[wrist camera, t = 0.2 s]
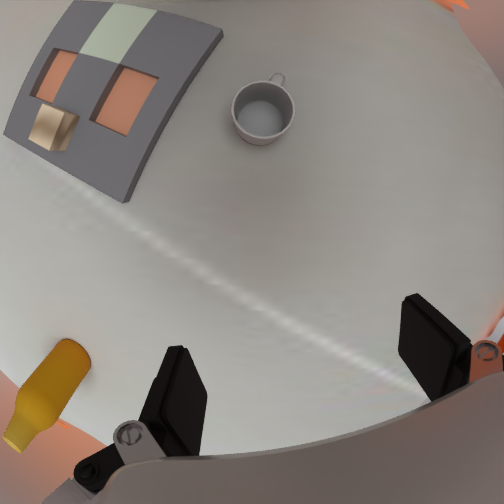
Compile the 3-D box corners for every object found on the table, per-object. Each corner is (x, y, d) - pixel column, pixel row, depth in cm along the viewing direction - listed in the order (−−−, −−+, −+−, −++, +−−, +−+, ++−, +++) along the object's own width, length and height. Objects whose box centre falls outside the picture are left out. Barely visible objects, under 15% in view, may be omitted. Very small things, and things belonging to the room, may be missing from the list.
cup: (226, 134, 37) (221, 125, 28) (253, 76, 34) (255, 53, 25) (273, 153, 37) (280, 148, 29) (299, 95, 35) (312, 76, 26)
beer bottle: (58, 356, 48) (-3, 438, 21) (60, 330, 46) (-14, 417, 18) (89, 376, 50) (36, 468, 22) (94, 352, 48) (30, 453, 20)
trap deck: (79, 4, 26) (74, 0, 24) (223, 36, 32) (222, 29, 29) (10, 134, 34) (3, 134, 31) (128, 201, 39) (122, 203, 37)
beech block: (58, 107, 31) (42, 103, 27) (80, 116, 32) (64, 112, 28) (44, 139, 33) (28, 139, 28) (65, 150, 34) (49, 150, 29)
